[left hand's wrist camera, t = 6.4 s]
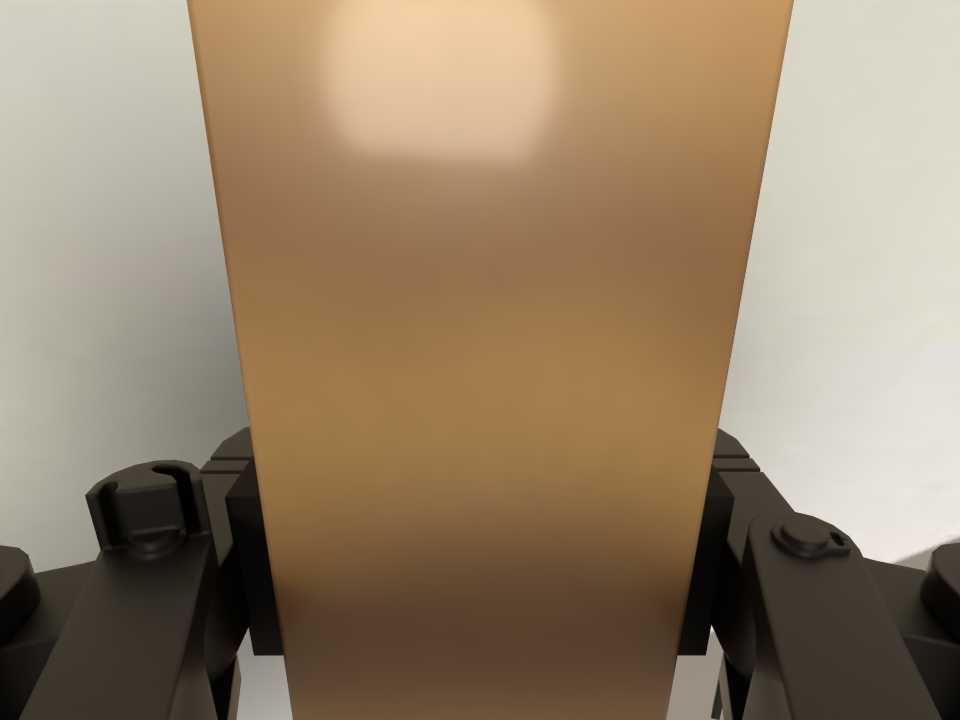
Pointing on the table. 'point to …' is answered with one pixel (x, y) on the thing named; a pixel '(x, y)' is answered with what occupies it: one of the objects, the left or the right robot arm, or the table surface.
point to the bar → (485, 331)
